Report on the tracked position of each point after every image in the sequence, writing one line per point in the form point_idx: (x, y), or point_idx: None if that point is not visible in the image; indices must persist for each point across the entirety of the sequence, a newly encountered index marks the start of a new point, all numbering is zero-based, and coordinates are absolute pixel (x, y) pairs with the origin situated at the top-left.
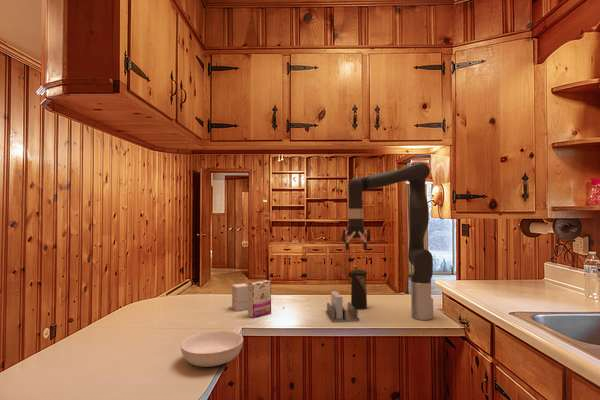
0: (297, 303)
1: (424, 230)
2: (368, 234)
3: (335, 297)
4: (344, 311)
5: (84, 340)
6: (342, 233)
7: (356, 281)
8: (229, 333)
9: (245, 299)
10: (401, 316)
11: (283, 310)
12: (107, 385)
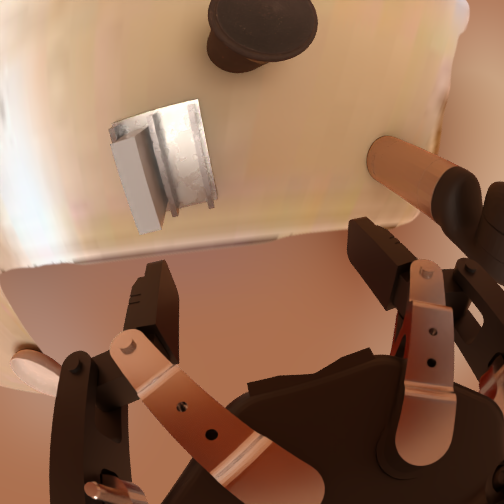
0: (29, 50)
1: None
2: (481, 369)
3: (135, 221)
4: (172, 213)
5: None
6: (71, 476)
7: (237, 58)
8: (32, 360)
9: None
10: (345, 147)
11: (6, 136)
12: (19, 384)
